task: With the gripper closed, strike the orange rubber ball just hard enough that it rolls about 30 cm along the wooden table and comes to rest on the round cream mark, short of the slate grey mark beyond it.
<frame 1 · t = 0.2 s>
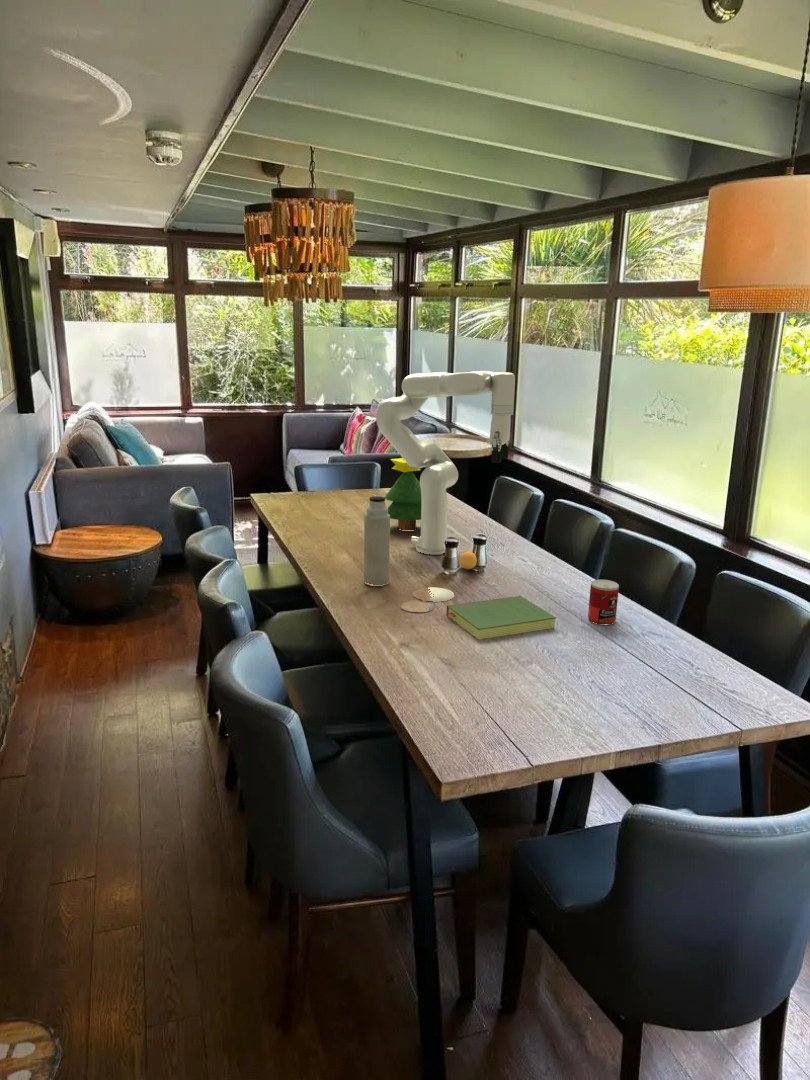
hand: (499, 460, 265), 36 cm above the table, tool pointing down, fingers open, 9 cm apart
hardcover book: (498, 624, 218), on the table
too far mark: (417, 606, 228), on the table
thermos bottle: (376, 583, 248), on the table
ball: (468, 560, 264), on the table
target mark: (433, 594, 238), on the table
canned food: (601, 621, 221), on the table
decorative tree: (406, 529, 313), on the table
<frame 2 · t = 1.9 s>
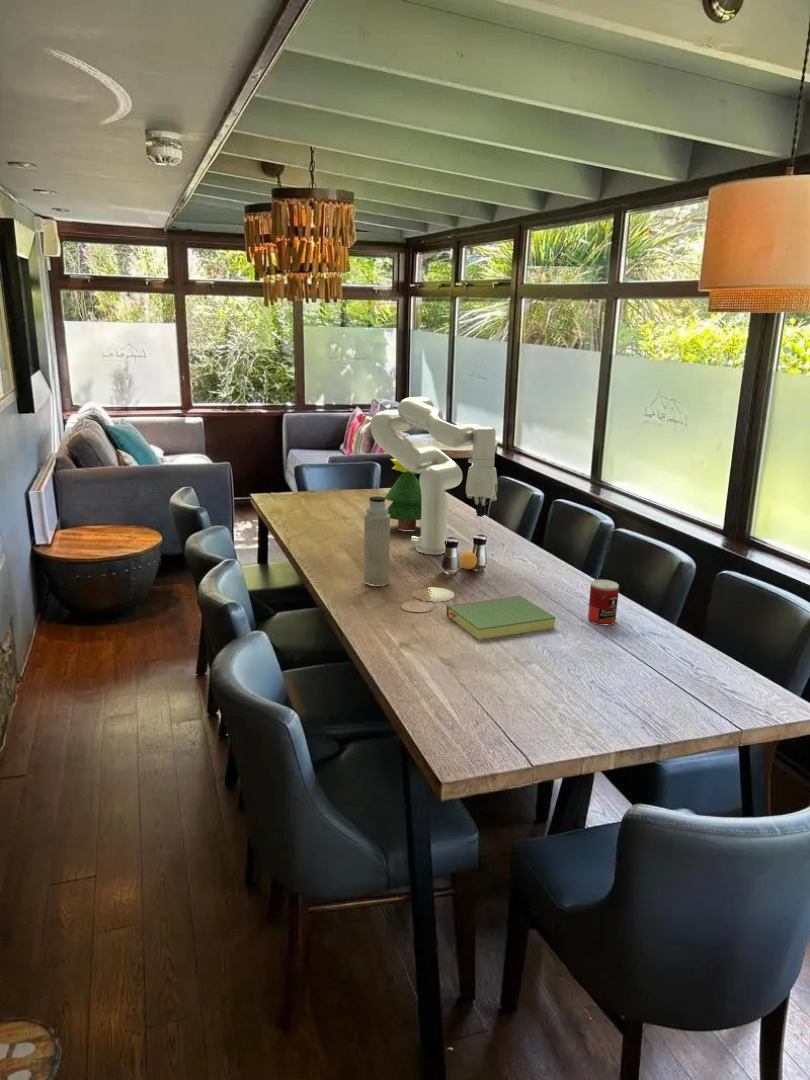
hand: (480, 515, 268), 17 cm above the table, tool pointing down, fingers closed
nothing on the table moved.
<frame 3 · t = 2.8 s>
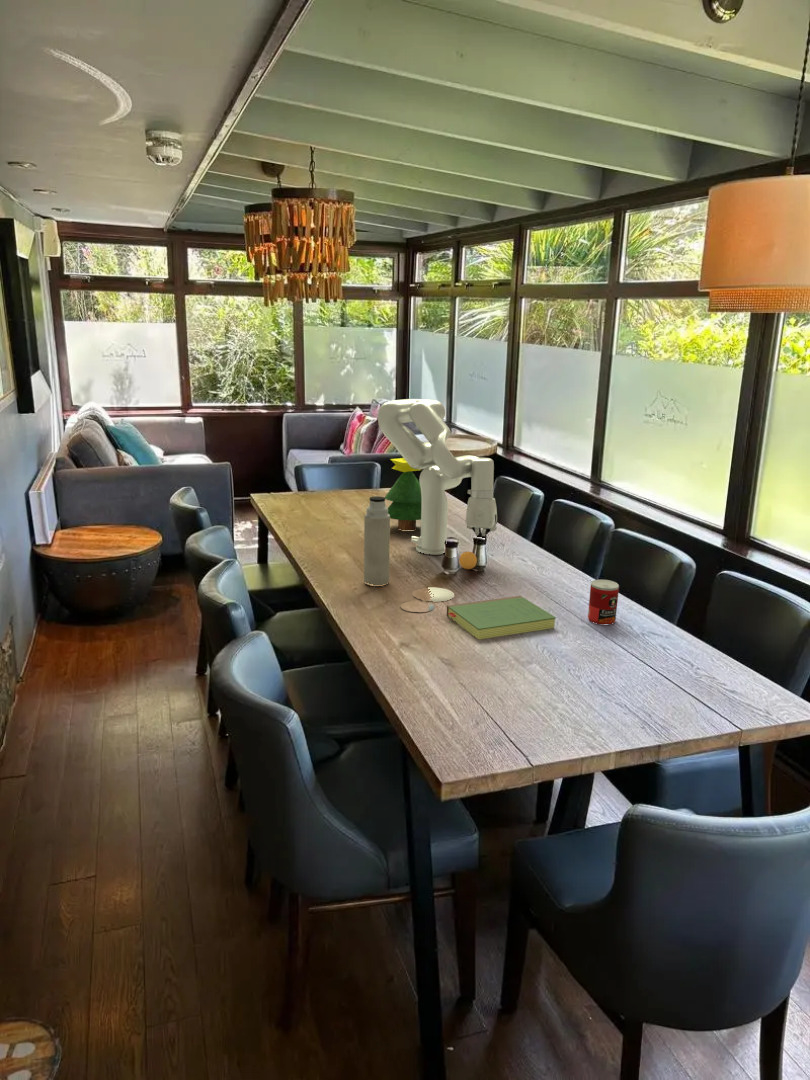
hand: (481, 545, 270), 6 cm above the table, tool pointing down, fingers closed
nothing on the table moved.
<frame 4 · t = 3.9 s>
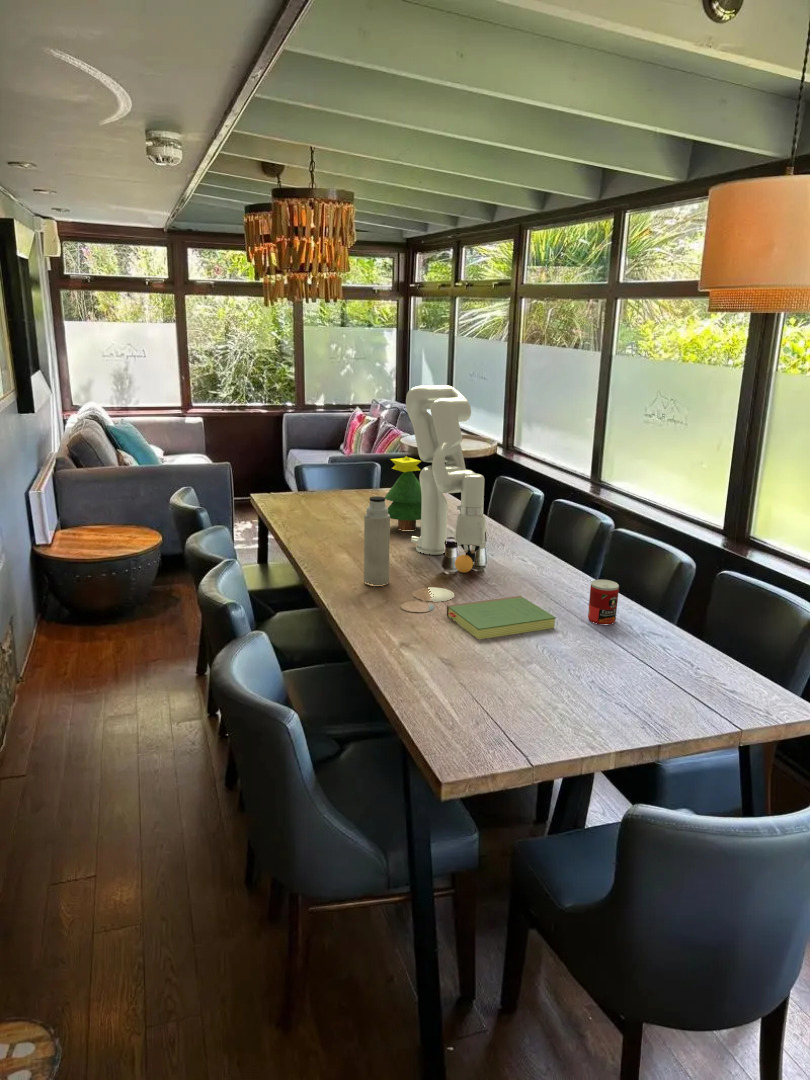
hand: (470, 563, 264), 2 cm above the table, tool pointing down, fingers closed
ball: (463, 563, 260), on the table
everything else where it was.
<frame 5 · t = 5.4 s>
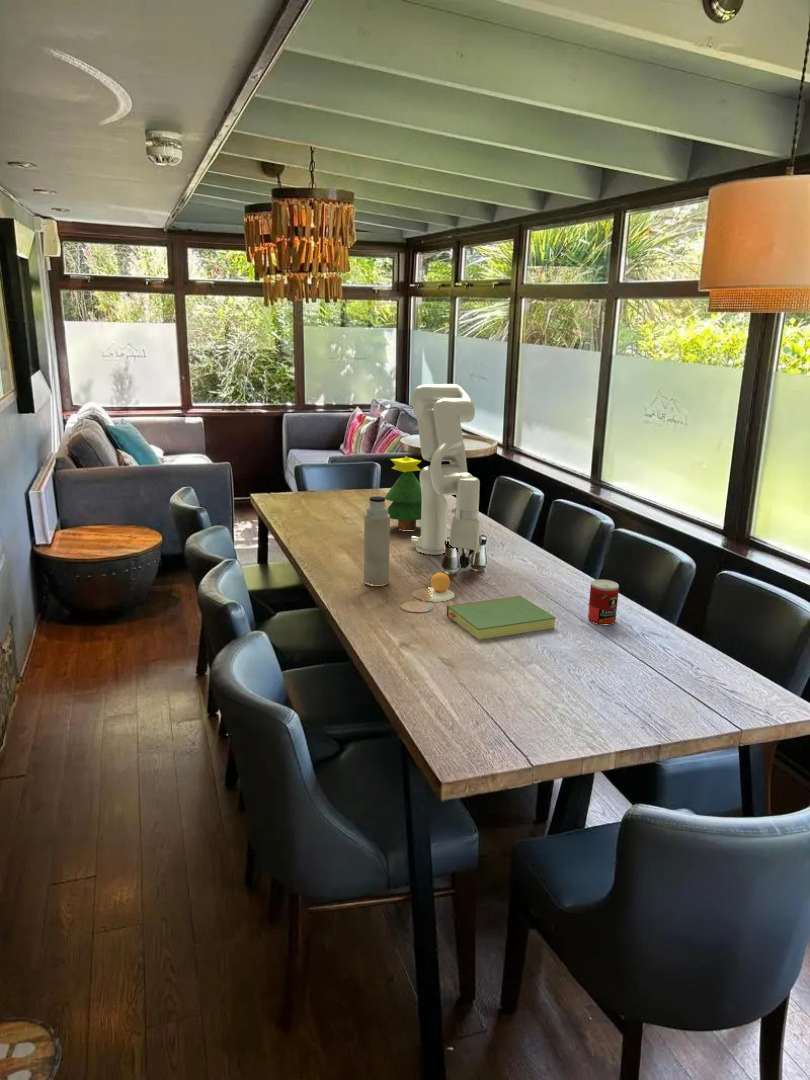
hand: (464, 566, 262), 2 cm above the table, tool pointing down, fingers closed
ball: (440, 582, 241), on the table
everything else where it was.
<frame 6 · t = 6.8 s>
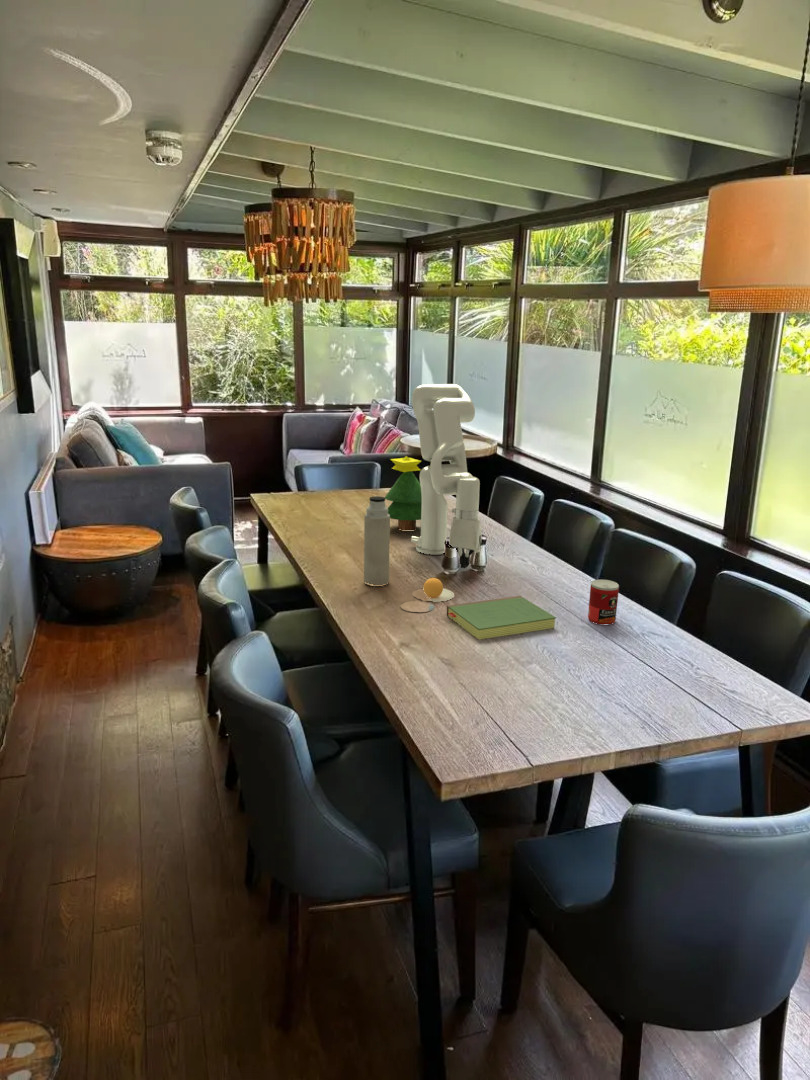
hand: (464, 566, 262), 2 cm above the table, tool pointing down, fingers closed
ball: (433, 587, 235), on the table
everything else where it was.
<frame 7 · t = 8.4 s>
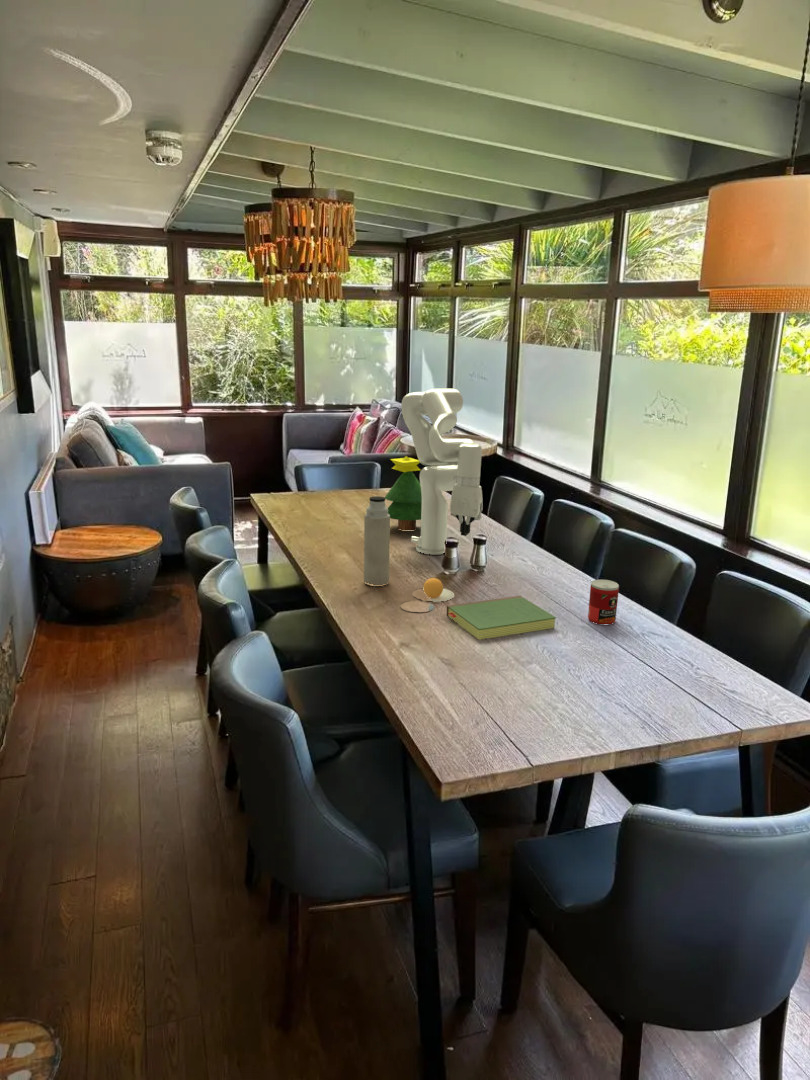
hand: (464, 534, 259), 13 cm above the table, tool pointing down, fingers closed
nothing on the table moved.
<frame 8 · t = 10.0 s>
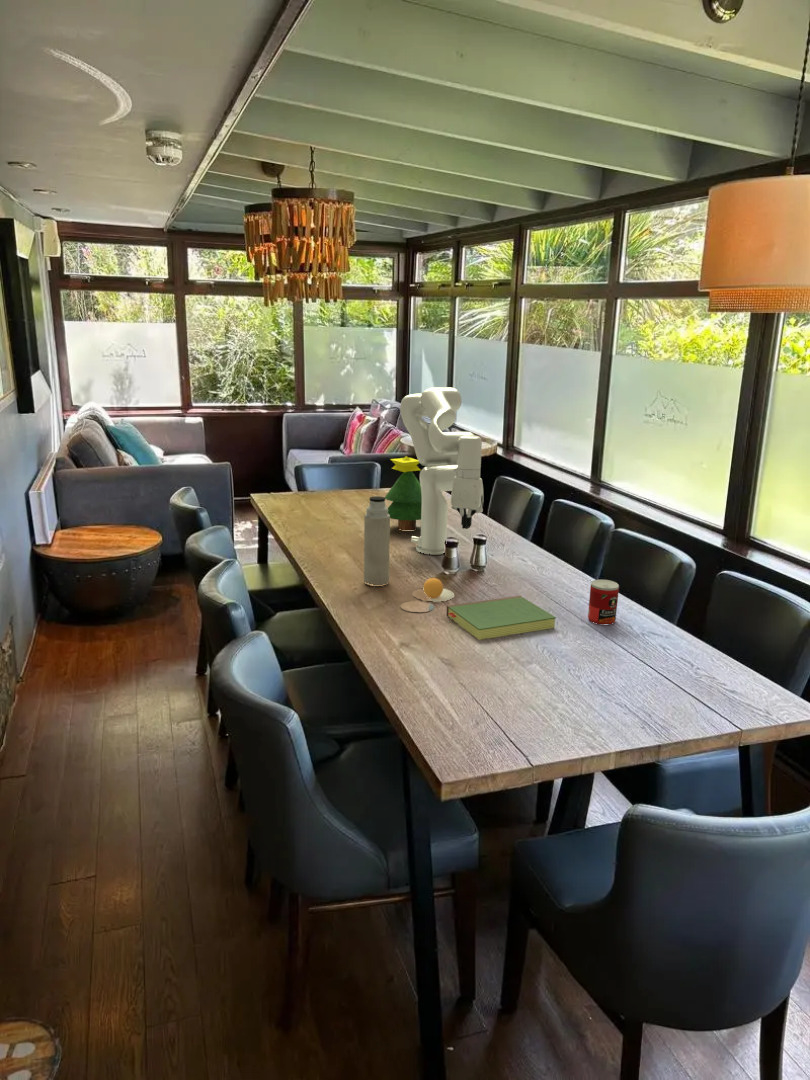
hand: (466, 527, 258), 15 cm above the table, tool pointing down, fingers closed
nothing on the table moved.
at the end: ball 2.2 cm from the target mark (horizontally); ball at rest at the end (0.0 cm/s); ball moved 32.1 cm from its start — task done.
